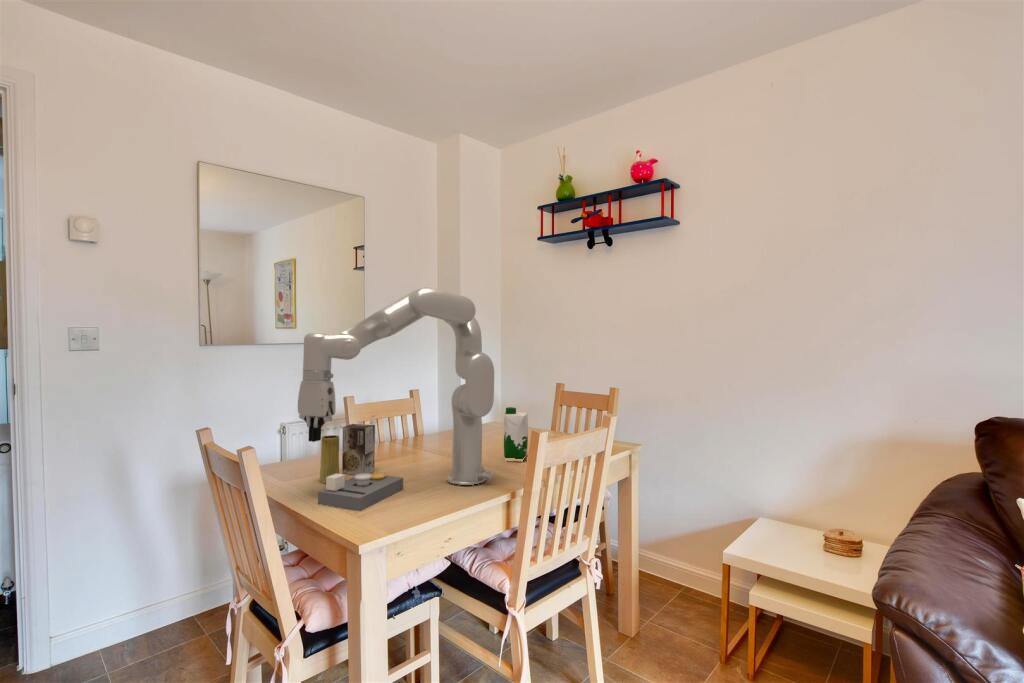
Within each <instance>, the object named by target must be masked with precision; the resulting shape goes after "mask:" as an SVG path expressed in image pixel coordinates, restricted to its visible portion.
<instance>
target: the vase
mask: <svg viewBox="0 0 1024 683" xmlns="http://www.w3.org/2000/svg"><path fill="white" fill-rule="evenodd" d="M320 448H321V452H320V468H319V470H320V472H319V483H320V482H321V484H325V483H326V477H328V476H331V475H333V474H340V462H339V460H340V458H339V457H340V454H339V452H340V436H339V435H335V434H334V435H333V434H330V435H329V434H328V435H323V436H321V446H320Z"/></svg>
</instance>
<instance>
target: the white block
mask: <svg viewBox="0 0 1024 683" xmlns="http://www.w3.org/2000/svg"><path fill="white" fill-rule="evenodd" d="M345 477H346V474H342V473H339V474H333V475H331V476H328V477H326V484H325V485H326V486H325V489H326V490H332V491H338V490H339V489H341V488H343V487H345V481H346V480H345Z"/></svg>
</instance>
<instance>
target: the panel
mask: <svg viewBox="0 0 1024 683" xmlns="http://www.w3.org/2000/svg"><path fill="white" fill-rule="evenodd" d="M369 474H372V473H369ZM402 490H404V477H399V476H393V475H386V474H385V478H383V479H382V480H380V481H376V480H371V479H369V486H366V487H359V486H356V480H355V479H354V476H353V477H350V478H348V479H346V480H345V487H343V488H341V489H339V490H338V491H332V490H326V488H324V489H320V490H318V491H317V505H320V504H322V505H321V506H326V505H328V507H332V506H334V507H333V508H338V507H340V509H344V508H345V510H350V509H351V510H353V511H356V510H357V511H358V512H362V511H364V510H365V509H367V508H369V507H371V506H373V505H374V503H375V504H377V503H378V501H379V502H381V501H383V500H384V498H385V499H386V497H387V498H389V497H390V495H391V496H393V495H395V494H397V493H399V492H401V491H402ZM394 493H395V494H394ZM392 494H393V495H392ZM388 496H389V497H388ZM382 499H383V500H382ZM380 500H381V501H380ZM376 502H377V503H376Z"/></svg>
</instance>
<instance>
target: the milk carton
mask: <svg viewBox="0 0 1024 683" xmlns="http://www.w3.org/2000/svg"><path fill="white" fill-rule="evenodd" d="M503 417H504V419H503V420H504V421H503V428H504V429H503V454H504V455H503V457H505V458H515V459H523V458H524V457H525V456H526V457H527V452H528V445H529V444H528V443H529V442H528V438H529V433H528V432H529V418H528V417H529V416H528V412H521V411H517V407H512V406H510V407H506V408H505V413H504V416H503Z"/></svg>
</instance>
